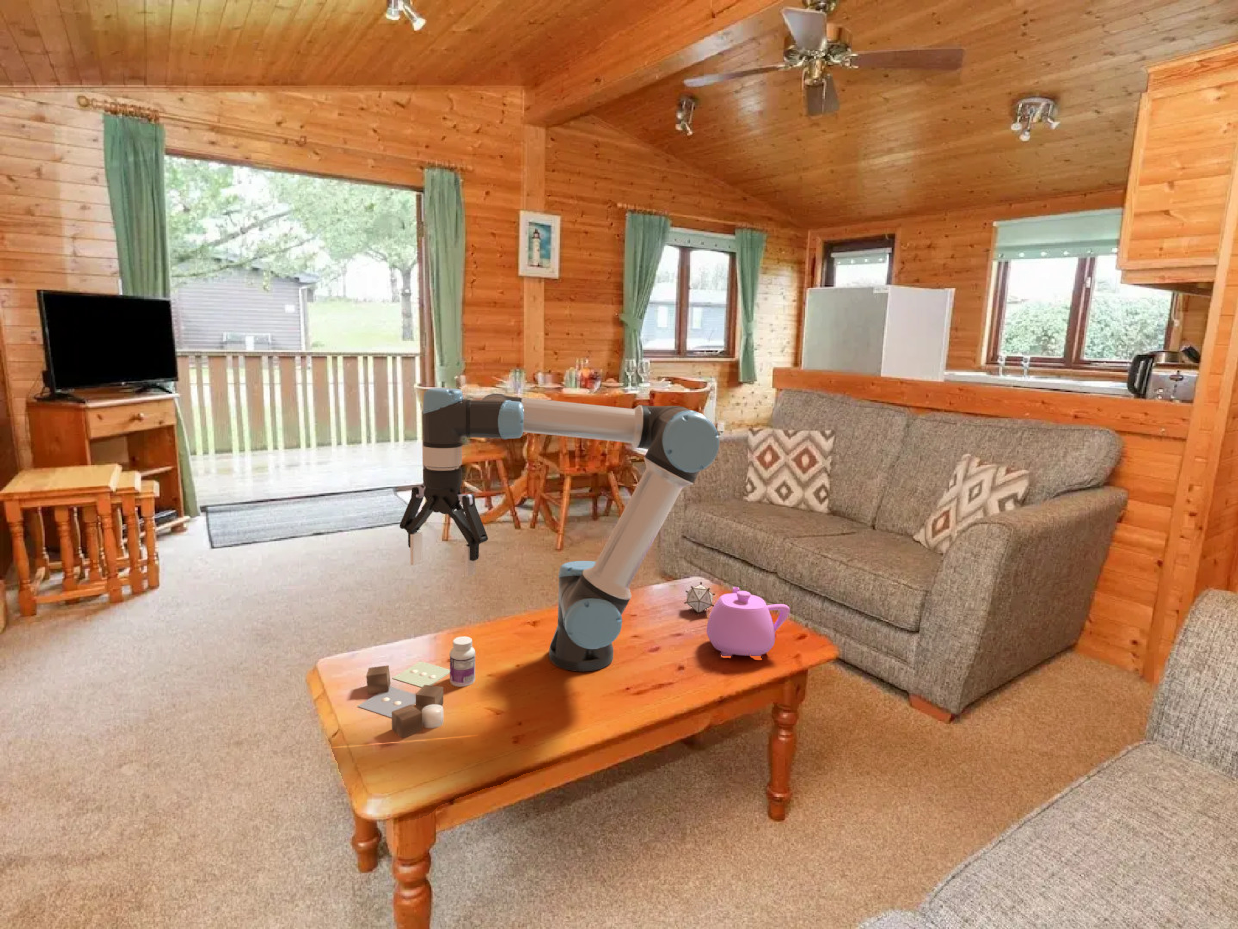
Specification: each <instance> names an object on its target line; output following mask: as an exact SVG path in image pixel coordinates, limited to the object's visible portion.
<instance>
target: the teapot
mask: <svg viewBox="0 0 1238 929" xmlns="http://www.w3.org/2000/svg"><path fill="white" fill-rule="evenodd" d="M713 605H714V607H713V606H712V609H711V611H710V614H709V618H708V619H707V625H706V635H707V637H708V640H709V641H710V643H711V644H712V646H713V648H715V649H716V650H717V651H719V652H720V654H721V655H722V656H732V655H733V656H734V655H736V656H746V657H747V656H749V657H750V655H751V656H762V655H765V654H767V653H768V652H769V651H770V650H771V649H772V648H773V647H774V645H775V643H776V642H775V641H776V631H777V630H778V629H780V627H781V626H782V625H783V624H784V623H785V621H786V620H787V619H788V617H789V615H790V610H791V609H790V607H789V606H788V605H787V604H784V603H774V604H768V605H767V603H766V601H765V600H764V599H763V598H762V597H760V596H759V595H754V594H751V592H748V591H747V590H740V587H738V586H733V587H732V592H731V593H724V594H722V595H721V596H720V597H719V598H718V599H717V601H716V602H715V603H714V604H713ZM770 611H780V612H779V615H778V617H777V620H776V621H775V622H774V620H773V617H772V614H771V612H770ZM733 656H732V657H733Z"/></svg>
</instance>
